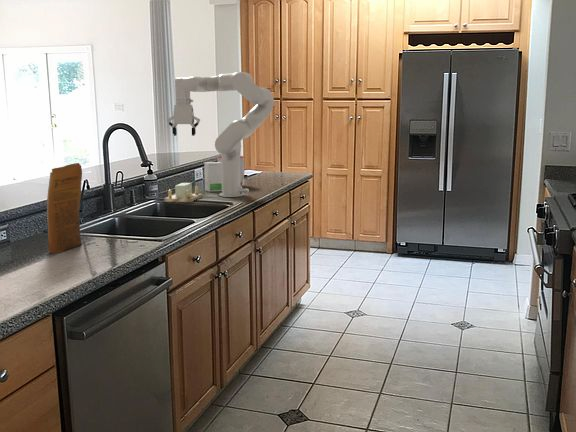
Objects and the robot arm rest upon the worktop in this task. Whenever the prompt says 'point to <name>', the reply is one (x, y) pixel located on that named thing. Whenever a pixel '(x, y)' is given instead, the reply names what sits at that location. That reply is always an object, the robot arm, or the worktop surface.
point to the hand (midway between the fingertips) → (184, 135)
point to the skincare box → (213, 176)
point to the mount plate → (188, 198)
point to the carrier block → (183, 189)
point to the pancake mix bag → (64, 208)
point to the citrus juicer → (240, 167)
